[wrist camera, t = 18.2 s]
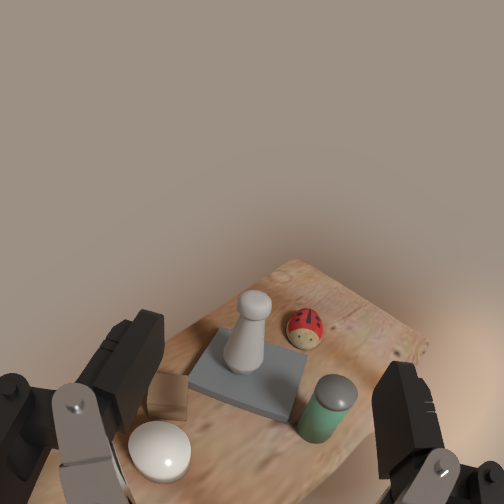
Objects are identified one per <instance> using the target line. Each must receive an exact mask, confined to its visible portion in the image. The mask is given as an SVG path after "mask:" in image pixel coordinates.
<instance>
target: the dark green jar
mask: <svg viewBox="0 0 504 504" xmlns="http://www.w3.org/2000/svg"><path fill="white" fill-rule="evenodd" d="M357 397H358V392H357V388H356V386H355V385H354V384H353V382H352V381H350V380H349V379H348V378H346V377H344V376H341V375H337V374H329V375H326V376H323V377H322V378H321V379H320V380H319V381H318V383H317V385H316V387H315V391H314V393H313V395H312V397H311V399H310V401H309V403H308V405H307V406H306V408H305V410H304V412H303V414H302V416H301V418H300V420H299V422H298V424H297V430H298V433H299V435H300V436H301V437H302V438H303V439H304V440H305V441H307V442H310V443H315V444H318V443H323V442H325V441H326V440H328V439H329V437H330V436H331V435H332V433H333V432H334V431H335V429H336V428H337V426H338V425H339V424H340V422H341V421H342V419H343V418H344V416H345V415H346V413H347V412H348V410H349V409H350V408H351V407H352V406H353V404H354V403H355V401H356V400H357Z"/></svg>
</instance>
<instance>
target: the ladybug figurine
mask: <svg viewBox="0 0 504 504" xmlns="http://www.w3.org/2000/svg"><path fill="white" fill-rule="evenodd" d="M286 333H287V337H288V339H289V341H290V342H291V343H292V344H293V345H294V346H295V347H297V348H299V349H303V350H309V349H312V348H314V347H316V346H317V345H318V344H319V343H320V341H321V339H322V336H323V326H322V322H321V319H320V317H319V316H318V314H317V313H316V312H315V311H314V310H312V309H308V308H305V309H301V310H299V311H297V312H296V313H295V314H294V315H293V316H292V317H291V318H290V319H289V321H288V323H287V327H286Z"/></svg>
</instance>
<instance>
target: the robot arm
mask: <svg viewBox="0 0 504 504" xmlns="http://www.w3.org/2000/svg"><path fill="white" fill-rule="evenodd" d="M164 347H165V342H164V316H163V315H162V314H158V313H155V312H152V311H148V310H144V309H142V310H140V312H139V313H138V315H137V316H136V318H135V319H134V321H133V322H132V321H129V320H126V319H125V320H123V321H122V322H120V323H119V324H117V325H116V326H114V327H113V328H112V329H111V331H110V332H109V334H108V335H107V337H106V339H105V340H104V341H103V342H102V344H101V345H100V348H99V349H98V350H97V351H96V353H95V354H94V355H93V357H92V358H91V360H90V361H89V363H88V364H87V366H86V368H85V369H84V370H83V372H82V373H81V375H80V376H79V378H78V379H77V381H76V382H74V383H69V384H66V385H63V386H61V387H60V388H59V389H57V390H48V389H42V388H35V387H30V385H29V384H28V382H27V380H26V379H25V378H24V377H23V376H21V375H19V374H15V373H9V374H5V375H3V376H1V377H0V504H27V503H28V500H29V498H30V495H31V493H32V491H33V488H34V486H35V484H36V481H37V479H38V477H39V475H40V472H41V470H42V468H43V466H44V464H45V461H46V459H47V457H48V455H49V453H50V451H51V449H52V448H53V449H59V451H60V456H61V465H60V466H59V476H60V480H61V484H62V488H63V492H64V496H65V499H66V503H67V504H136V503H135V500H134V498H133V496H132V494H131V492H130V489H129V487H128V484H127V482H126V479H125V476H124V474H123V471H122V468H121V465H120V462H119V459H118V456H117V453H116V450H115V447H114V444H113V441H112V440H113V438H114V436H115V434H116V432H117V431H120V432H122V433H125V434H127V433H128V430H129V428H130V426H131V424H132V422H133V420H134V417H135V415H136V413H137V411H138V409H139V407H140V405H141V402H142V400H143V398H144V396H145V394H146V392H147V390H148V388H149V386H150V383H151V381H152V379H153V377H154V375H155V373H156V371H157V369H158V367H159V365H160V363H161V360H162V357H163V353H164ZM372 410H373V418H374V427H375V437H376V447H377V458H378V471H379V479H390V481H391V485H390V486H389V487H388V488H387V489H386V490H385V492H384V493H383V495H382V496H381V497H380V499H379V500H378V501H377V503H376V504H504V470H503V469H502V467H501V466H500V465H499V464H498V463H496V462H494V461H487V462H485V463H483V464H482V465H481V466H479V468H475V467H470V466H466V465H463V464H460V463H459V460H458V458H457V457H456V455H455V454H454V453H453V452H451V451H450V450H447V449H445V447H444V443H443V439H442V435H441V430H440V426H439V422H438V418H437V414H436V413H435V407H434V404H433V399H432V396H431V392H430V389H429V388H428V386H427V385H426V383H425V382H424V380H423V379H422V378H418V376H417V373H416V369H415V366H414V364H413V363H408V362H399V361H392V362H391V363H390V365H389V366H388V368H387V369H386V371H385V373H384V374H383V376H382V377H381V379H380V380H379V382H378V384H377V385H376V387H375V389H374V391H373V395H372Z"/></svg>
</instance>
